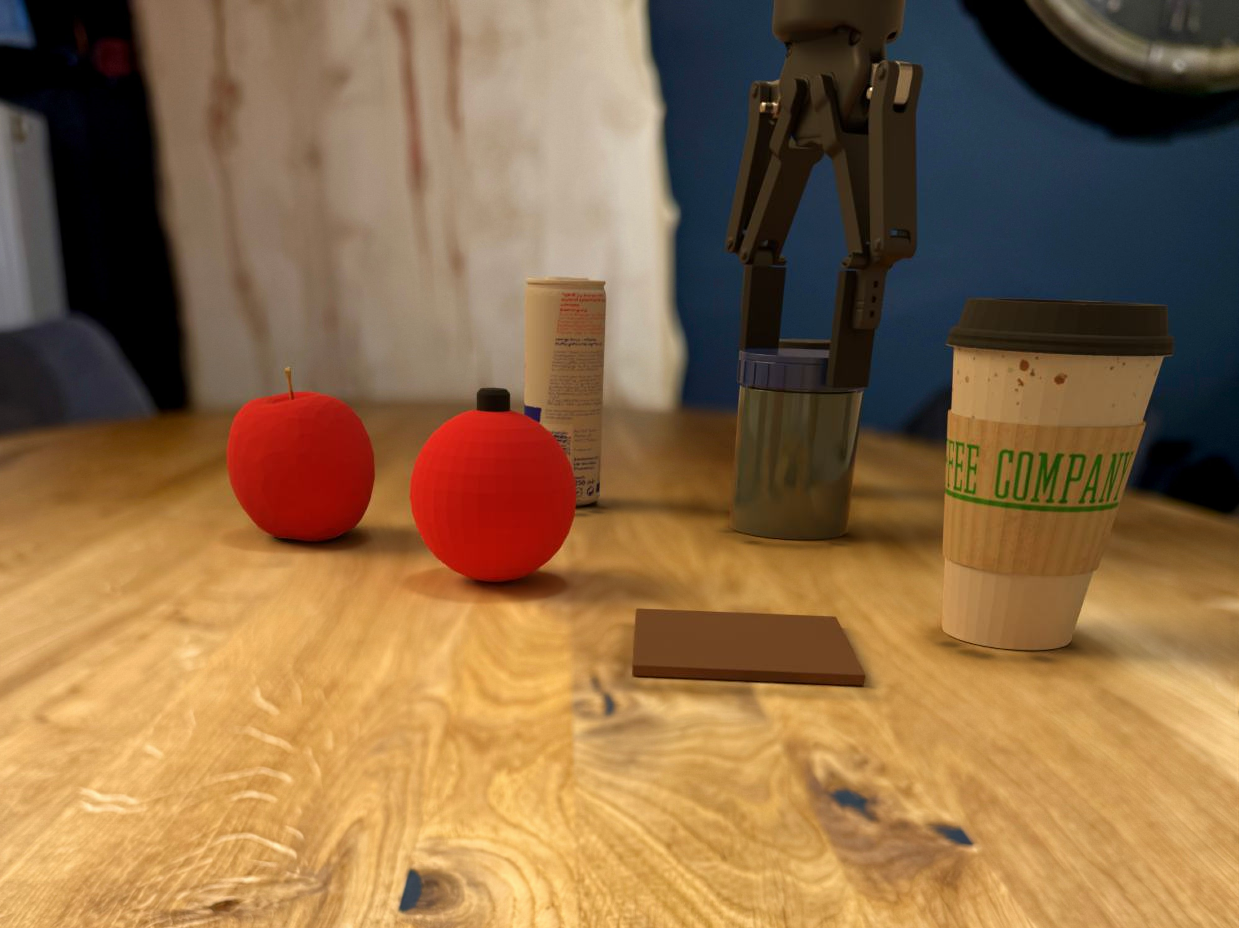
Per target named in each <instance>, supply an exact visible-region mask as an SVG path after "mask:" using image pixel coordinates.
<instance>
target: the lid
mask: <svg viewBox="0 0 1239 928" xmlns="http://www.w3.org/2000/svg"><path fill="white" fill-rule="evenodd" d="M739 357H740V358H739V359H738V358H737V366H736V378H735V379H736V380H735V381H737V383H738V384H740V385H741V384H745V385H750V386H757V387H766V388H778V389H793V390H822V391H841V390H859V389H862V390H865V389H866V388H830V387H825V385H826V377H827V368H828V359H829V350H813V349H779V348H762V349H744V350H740V355H739ZM871 370H872V365H871V366H870V374H869V382H868V387H869V386H870V379H871V372H872V371H871Z"/></svg>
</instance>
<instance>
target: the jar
mask: <svg viewBox="0 0 1239 928" xmlns="http://www.w3.org/2000/svg"><path fill="white" fill-rule="evenodd" d="M864 392H865V391H864V389H859V390H841V391H822V390H793V389H778V388H766V387H757V386H750V385H745V384H741V383H740V385H739V394H738V407H737V421H736V435H735V447H734V459H733V469H732V470H733V471H732V472H733V473H732V484H731V494H730V495H731V496H730V508H729V519H728V520H729V521H728V526H729V528H731V529H732V530H734V531H735V532H738V533H740V534H745V535H749V536H754V537H760V538H768V539H778V540H793V541H795V540H796V541H813V540H814V541H817V540H828V539H829V540H830V539H834V538H839V537H843V536H845V535H846V534H847V532H848V527H849V519H850V509H851V501H852V494H853V485H854V475H855V467H856V459H857V452H858V451H857V450H858V443H859V435H860V434H859V433H860V426H861V417H862V410H863V409H862V408H863V402H864V401H863V400H864Z"/></svg>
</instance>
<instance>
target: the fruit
mask: <svg viewBox="0 0 1239 928" xmlns="http://www.w3.org/2000/svg"><path fill="white" fill-rule="evenodd" d="M284 374H285V378H286V381H287V388H288V392H285V393H280V394H273V395H268V396H263V397H257V398H254V399H251V400H249V401H248V402H247V403H245V404H243V405H242V407H241V409H239V410H238V411H237V413H236V414H235V416H234V419H233V421H232V423H231V427H230V430H229V434H228V440H227V449H226V467H227V472H228V477H229V482H230V486H231V488H232V490H233V494H234V496H235V498H236V499H237V501H238V503H239V504H240V506H241V508H242V510H243V511H244V513H246V515H247V516H248V517H249V518H250V519H251V521H252V522H253V523H254V524H255V525H256V526H257V528H259V529H260V530H262V531H264V532H265V533H266V534H269V535H270V536H273V537H274V538H279V539H286V540H287V539H289V540H296V541H303V542H308V543H309V542H310V543H311V542H322V541H328V540H333V539H335V538H337V537H339V536H341V535H343V534H345V533H348V532H349V531H351V530H353V529H354V528H356V526H358V524H359V523H360V522H361V521H362V520H363V517H364V516H365V514H366V512H367V510H368V508H369V505H370V502H371V499H372V494H373V491H374V485H375V480H376V467H375V466H376V465H375V452H374V449H373V448H374V447H373V444H372V441H371V438H370V435H369V434H368V431H367V429H366V427H365V425H364V423H363V420H362V419H361V418H360V417H359V415H358V414H357V413H356V412H355V411H354V409H353V408H352V407H350V406H349V405H348V404H347V403H345V402H344V401H343V400H341V399H339V398H337V397H335V396H332V395H329V394H325V393H324V394H323V393H319V392H316V391H315V392H314V391H310V390H307V391H306V390H305V391H294V389H293V384H292V367H291V366H286V367H285V369H284Z"/></svg>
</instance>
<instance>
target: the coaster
mask: <svg viewBox="0 0 1239 928" xmlns="http://www.w3.org/2000/svg"><path fill="white" fill-rule="evenodd" d="M631 668H632V669H631V676H634V677H635V676H637V677H657V678H658V677H659V678H681V679H701V680H702V679H703V680H704V679H706V680H726V681H727V680H728V681H748V682H750V681H751V682H773V683H774V682H775V683H794V684H795V683H796V684H798V683H799V684H817V685H840V686H841V685H843V686H862V687H863V686H864V685H865V682H866V674H865V672H864V670H863V668H862V666H861V664H860V662H859V659H858V658H857V655H856V654H855V652H854V650H853V648H852V646H851V644H850V642H849V639H848V638H847V636H846V634H845V632H844V630H843V628H842V626H841V623H840V622H839V620H838V618H837V616H834V615H833V616H831V615H812V614H811V615H809V614H808V615H806V614H788V613H787V614H786V613H785V614H784V613H763V612H762V613H757V612H737V611H736V612H735V611H714V610H712V611H711V610H685V609H662V608H642V607H641V608H640V607H638V608H635V620H634V637H633V651H632V666H631Z"/></svg>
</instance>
